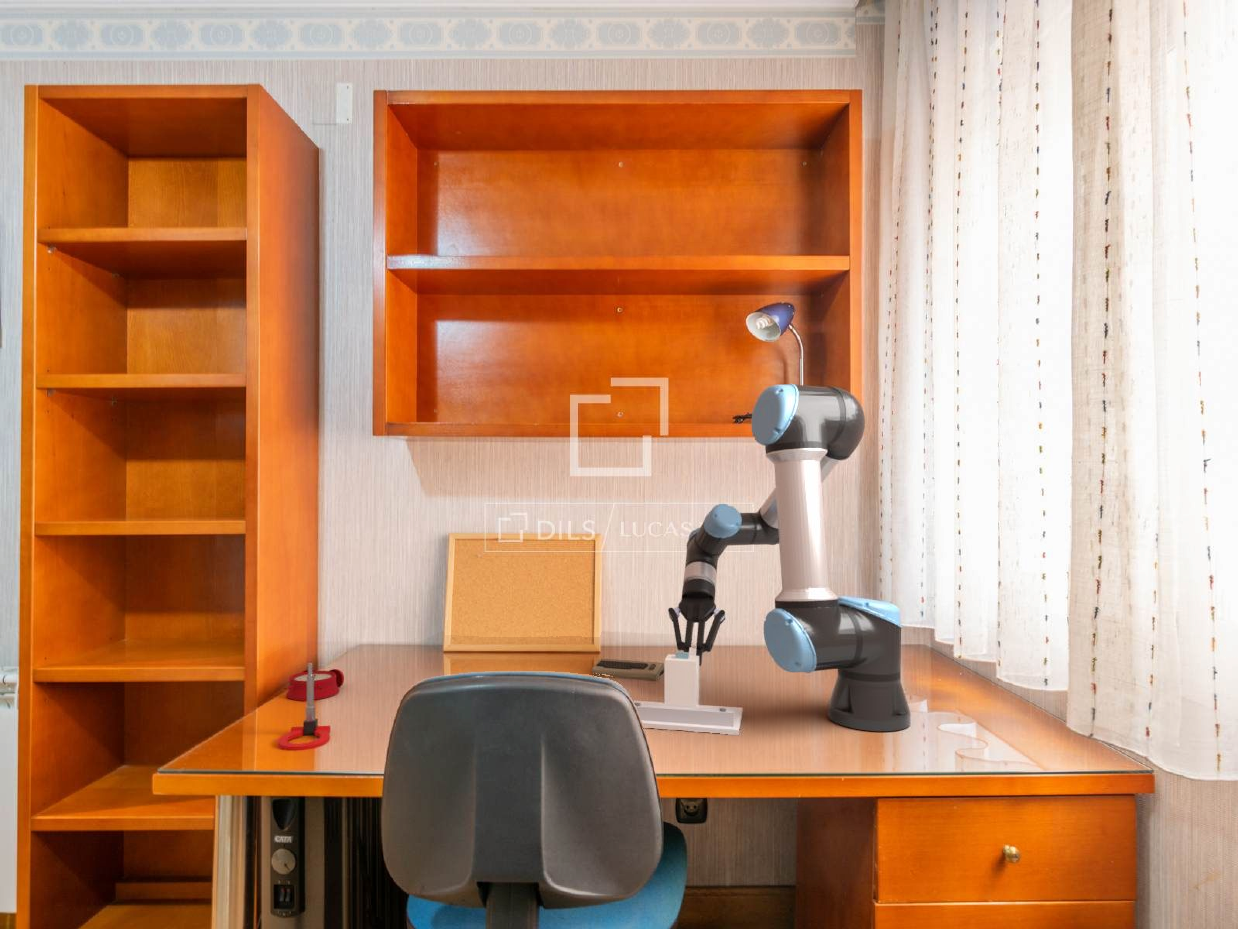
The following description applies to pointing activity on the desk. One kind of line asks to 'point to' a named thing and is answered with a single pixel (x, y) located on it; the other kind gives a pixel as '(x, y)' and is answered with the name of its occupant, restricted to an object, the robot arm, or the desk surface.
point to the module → (681, 680)
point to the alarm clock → (315, 684)
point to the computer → (629, 669)
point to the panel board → (699, 727)
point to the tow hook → (307, 723)
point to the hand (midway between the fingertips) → (690, 677)
